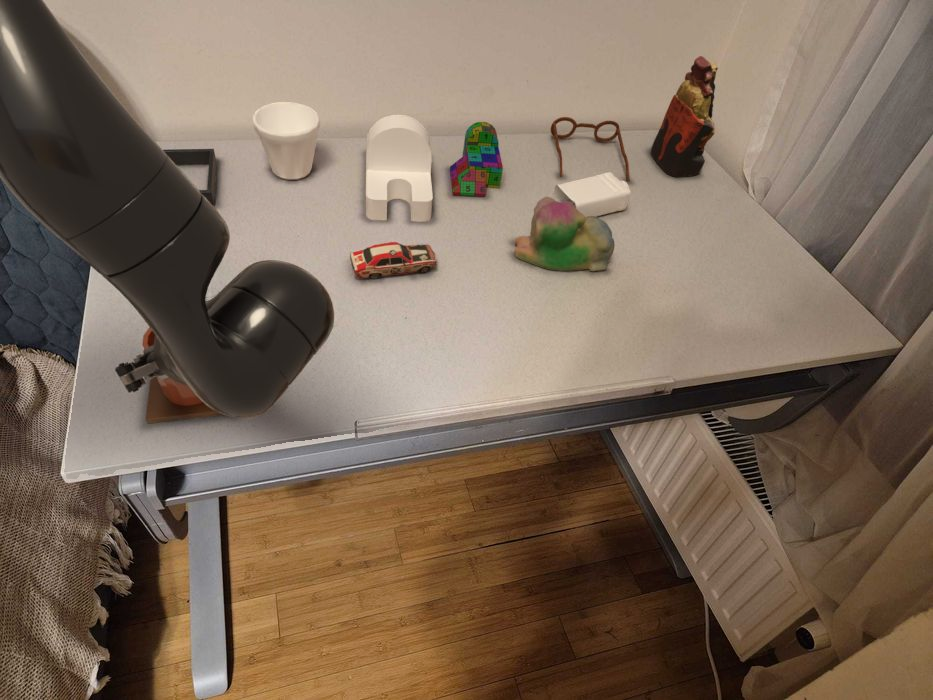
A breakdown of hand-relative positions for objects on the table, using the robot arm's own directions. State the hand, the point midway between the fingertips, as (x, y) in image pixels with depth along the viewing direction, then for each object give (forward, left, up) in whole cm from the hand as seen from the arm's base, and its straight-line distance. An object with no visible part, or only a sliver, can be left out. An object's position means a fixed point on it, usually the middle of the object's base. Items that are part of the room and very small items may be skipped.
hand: (176, 349), depth 68 cm
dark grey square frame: (-4, +39, -5) cm, 39 cm away
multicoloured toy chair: (+44, +39, -5) cm, 59 cm away
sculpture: (+53, +17, -5) cm, 56 cm away
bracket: (+30, +37, -5) cm, 48 cm away
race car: (+27, +17, -5) cm, 32 cm away
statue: (+84, +42, -5) cm, 94 cm away
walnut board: (+1, -1, -5) cm, 5 cm away
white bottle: (+62, +28, -5) cm, 68 cm away
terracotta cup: (+1, -1, -4) cm, 5 cm away
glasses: (+67, +43, -5) cm, 79 cm away
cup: (+14, +42, -5) cm, 44 cm away
